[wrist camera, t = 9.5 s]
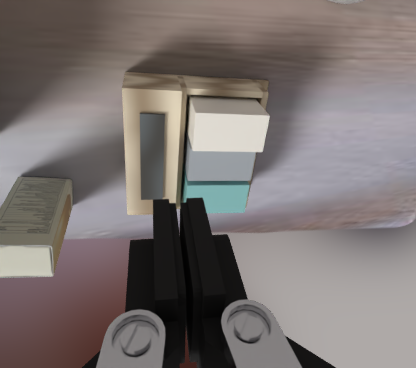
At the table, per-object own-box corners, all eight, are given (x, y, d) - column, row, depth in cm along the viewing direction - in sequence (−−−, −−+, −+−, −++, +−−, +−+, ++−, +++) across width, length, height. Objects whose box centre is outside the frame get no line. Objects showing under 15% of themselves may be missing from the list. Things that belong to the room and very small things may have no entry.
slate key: (244, 130, 38) (256, 149, 34) (239, 159, 40) (250, 180, 36) (185, 129, 37) (190, 148, 33) (183, 158, 39) (187, 180, 35)
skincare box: (21, 204, 41) (-19, 279, 31) (17, 174, 39) (-27, 245, 29) (75, 206, 43) (54, 279, 33) (74, 178, 41) (51, 247, 30)
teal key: (238, 163, 40) (249, 185, 36) (234, 189, 42) (244, 212, 38) (182, 163, 39) (187, 185, 35) (181, 189, 41) (185, 213, 37)
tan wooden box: (267, 80, 38) (287, 97, 32) (247, 186, 45) (260, 213, 40) (125, 71, 35) (121, 89, 29) (129, 186, 42) (127, 216, 37)
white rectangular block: (254, 98, 34) (269, 115, 30) (249, 131, 36) (262, 152, 32) (189, 95, 33) (195, 112, 29) (187, 130, 35) (192, 151, 31)
